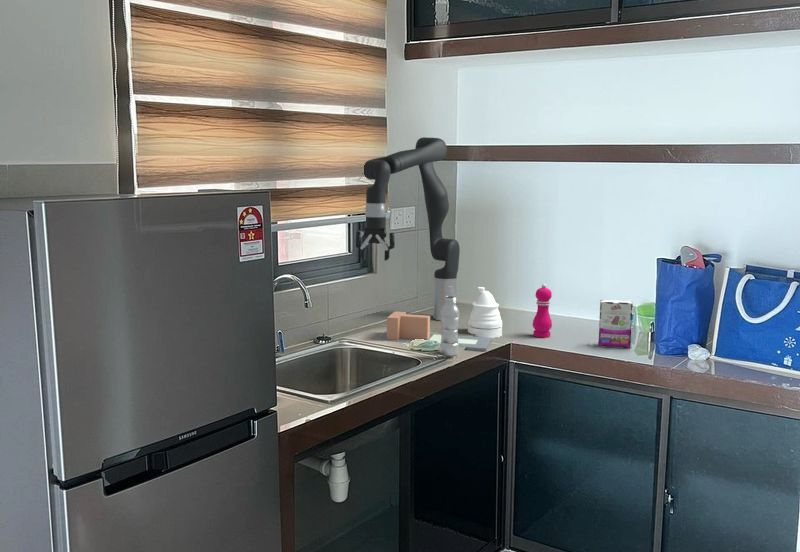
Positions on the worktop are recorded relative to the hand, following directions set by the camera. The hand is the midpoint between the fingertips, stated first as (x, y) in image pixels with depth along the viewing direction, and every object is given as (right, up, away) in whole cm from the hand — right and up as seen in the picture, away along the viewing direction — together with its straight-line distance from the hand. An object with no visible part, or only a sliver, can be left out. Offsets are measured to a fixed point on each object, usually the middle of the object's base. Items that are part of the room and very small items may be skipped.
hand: (374, 259), depth 281 cm
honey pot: (+41, -28, +9) cm, 51 cm away
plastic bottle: (+26, -33, -25) cm, 49 cm away
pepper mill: (+63, -29, +7) cm, 69 cm away
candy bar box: (+86, -31, -6) cm, 92 cm away
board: (+21, -30, -5) cm, 37 cm away
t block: (+13, -28, -3) cm, 31 cm away
